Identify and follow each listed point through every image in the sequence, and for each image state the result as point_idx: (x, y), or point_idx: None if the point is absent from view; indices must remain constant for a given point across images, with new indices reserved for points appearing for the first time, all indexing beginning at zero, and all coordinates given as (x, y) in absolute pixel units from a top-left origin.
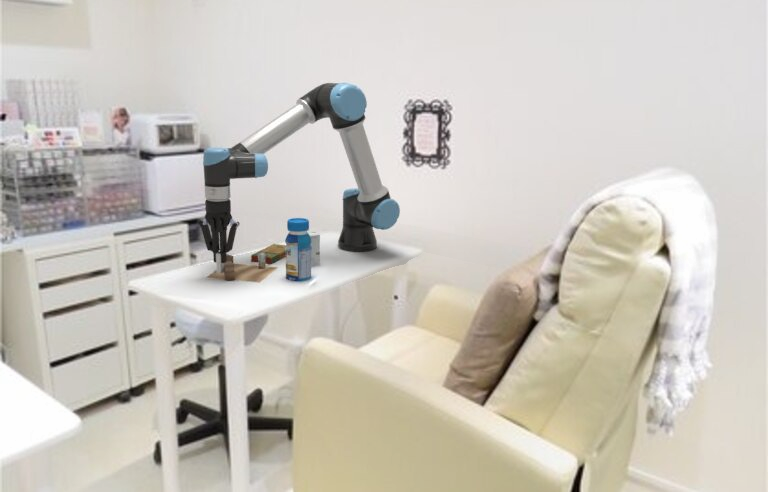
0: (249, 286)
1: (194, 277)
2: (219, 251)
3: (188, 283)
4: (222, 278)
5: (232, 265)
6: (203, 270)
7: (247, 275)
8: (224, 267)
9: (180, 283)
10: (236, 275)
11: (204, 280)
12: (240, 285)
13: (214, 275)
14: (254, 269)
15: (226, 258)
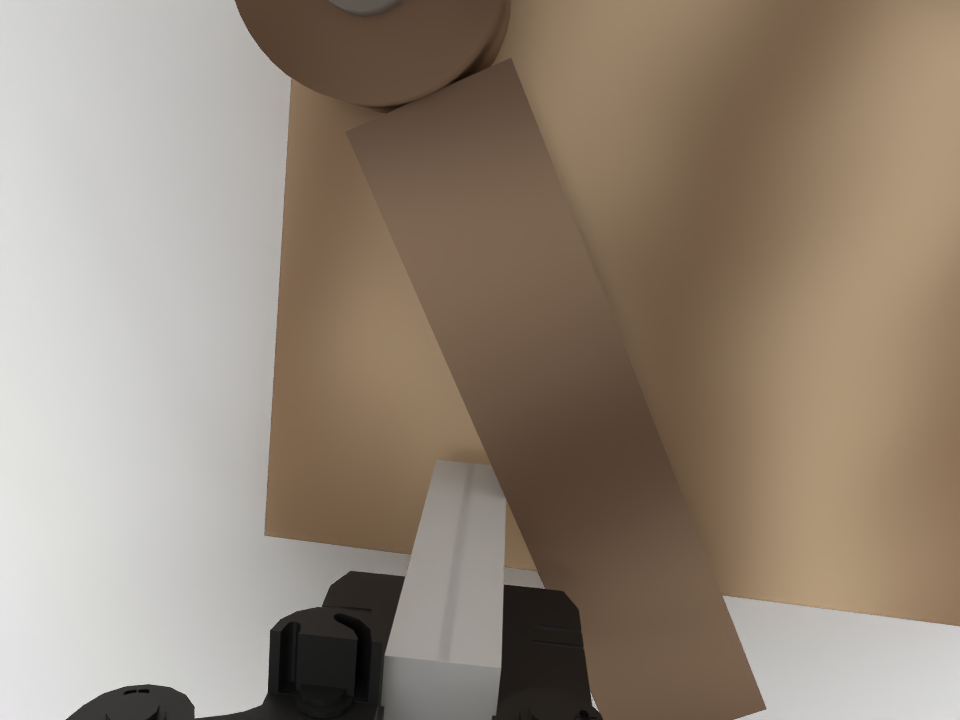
0: (933, 651)
1: (61, 400)
2: (384, 669)
3: (110, 638)
4: (521, 565)
5: (636, 415)
6: (21, 46)
7: (862, 375)
8: (530, 553)
9: (15, 650)
10: (686, 401)
11: (252, 502)
12: (801, 628)
13: (354, 449)
14: (916, 22)
15: (581, 634)
